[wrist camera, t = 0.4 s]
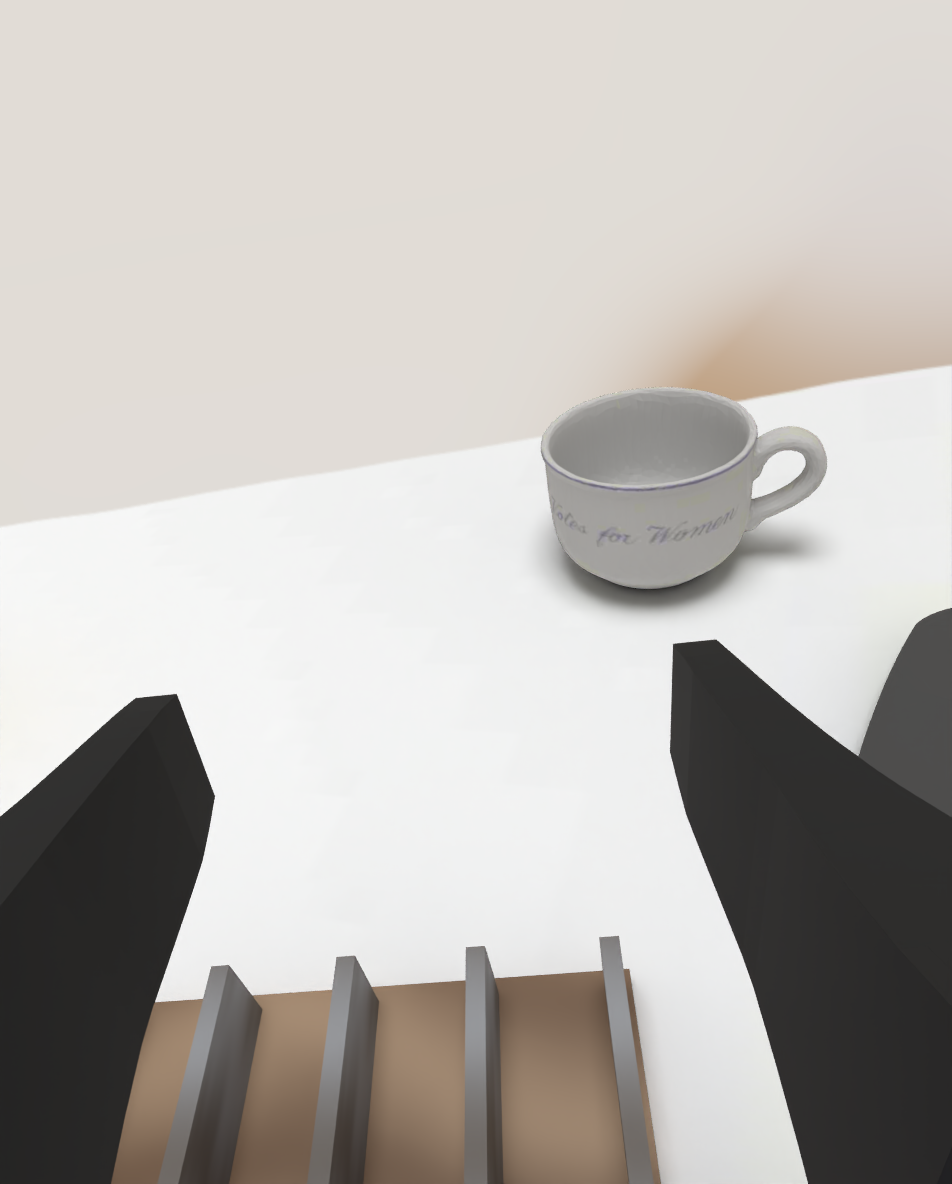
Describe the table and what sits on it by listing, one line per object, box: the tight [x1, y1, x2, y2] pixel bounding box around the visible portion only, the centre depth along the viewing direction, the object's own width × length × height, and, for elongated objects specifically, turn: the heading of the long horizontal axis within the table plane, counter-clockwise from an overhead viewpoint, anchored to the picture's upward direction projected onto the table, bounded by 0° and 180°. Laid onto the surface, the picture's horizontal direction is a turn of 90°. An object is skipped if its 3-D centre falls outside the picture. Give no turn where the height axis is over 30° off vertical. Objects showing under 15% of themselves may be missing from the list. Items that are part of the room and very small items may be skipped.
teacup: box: [541, 387, 827, 589], centre depth 42 cm, size 14×11×8 cm
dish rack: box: [111, 936, 661, 1184], centre depth 23 cm, size 12×18×4 cm, turn 90°
